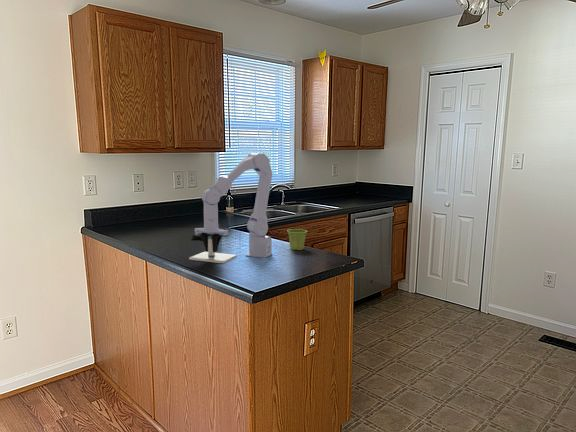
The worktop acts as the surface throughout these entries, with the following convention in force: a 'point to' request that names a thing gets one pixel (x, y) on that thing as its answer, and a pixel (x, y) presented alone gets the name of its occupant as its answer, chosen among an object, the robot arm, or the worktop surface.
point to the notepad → (217, 259)
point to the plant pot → (297, 238)
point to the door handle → (197, 236)
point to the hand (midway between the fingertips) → (211, 251)
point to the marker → (210, 248)
